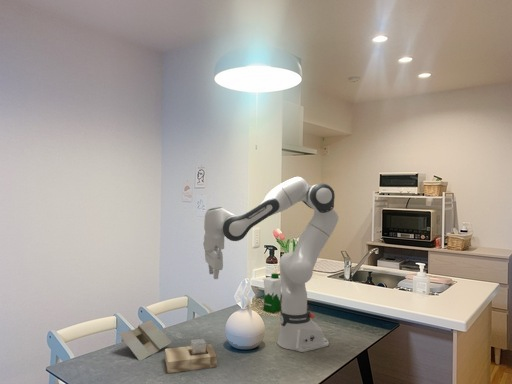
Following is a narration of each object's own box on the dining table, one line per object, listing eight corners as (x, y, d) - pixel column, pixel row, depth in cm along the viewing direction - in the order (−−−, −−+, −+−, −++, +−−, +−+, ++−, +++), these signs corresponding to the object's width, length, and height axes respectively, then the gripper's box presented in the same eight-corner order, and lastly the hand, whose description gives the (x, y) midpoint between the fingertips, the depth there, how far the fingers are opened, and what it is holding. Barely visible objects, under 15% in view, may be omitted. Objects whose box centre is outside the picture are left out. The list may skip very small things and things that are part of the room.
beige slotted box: (166, 352, 164) (148, 324, 170) (173, 341, 159) (154, 313, 165) (133, 372, 151) (114, 341, 157) (139, 361, 147) (120, 330, 152)
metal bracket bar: (203, 358, 149) (203, 338, 149) (205, 363, 146) (205, 342, 145) (190, 360, 148) (191, 340, 148) (192, 365, 144) (192, 344, 144)
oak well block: (210, 353, 154) (210, 343, 154) (216, 366, 143) (216, 356, 143) (164, 358, 149) (165, 348, 149) (167, 373, 137) (168, 362, 137)
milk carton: (283, 310, 211) (283, 274, 211) (273, 314, 205) (274, 277, 204) (270, 307, 217) (271, 272, 217) (260, 310, 210) (261, 274, 210)
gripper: (226, 247, 156) (226, 281, 156) (216, 241, 175) (215, 271, 175) (211, 248, 154) (211, 282, 154) (202, 241, 173) (202, 271, 173)
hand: (213, 276), depth 165 cm, fingers open, 8 cm apart
